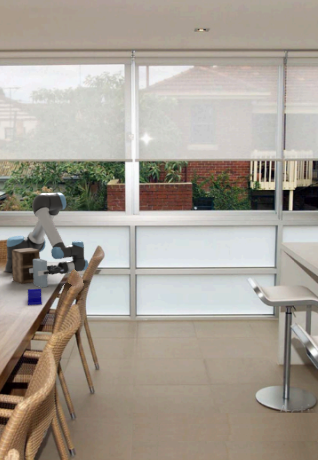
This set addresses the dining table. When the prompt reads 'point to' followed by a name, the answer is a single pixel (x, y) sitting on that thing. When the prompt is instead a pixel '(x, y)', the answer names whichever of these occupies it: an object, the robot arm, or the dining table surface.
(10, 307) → the dining table surface
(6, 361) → the dining table surface
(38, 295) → the mounting bracket
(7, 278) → the dining table surface
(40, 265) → the upright grey-blue slab
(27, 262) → the cabinet
